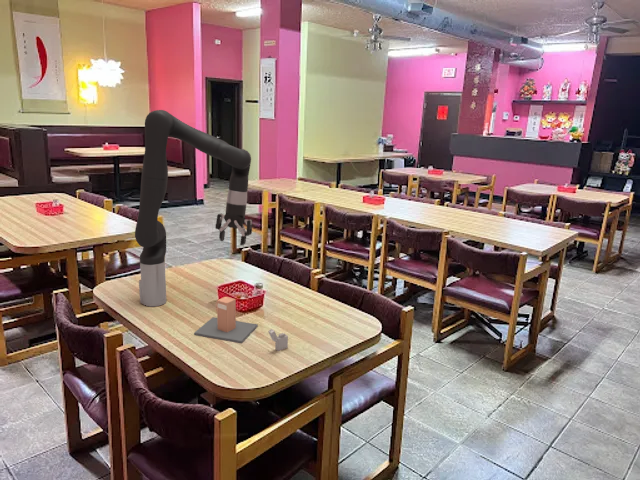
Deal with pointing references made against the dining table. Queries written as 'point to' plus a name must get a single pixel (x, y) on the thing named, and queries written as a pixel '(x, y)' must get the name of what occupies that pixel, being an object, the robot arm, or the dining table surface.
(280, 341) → the lighter
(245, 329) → the mat
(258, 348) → the dining table surface
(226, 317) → the block
